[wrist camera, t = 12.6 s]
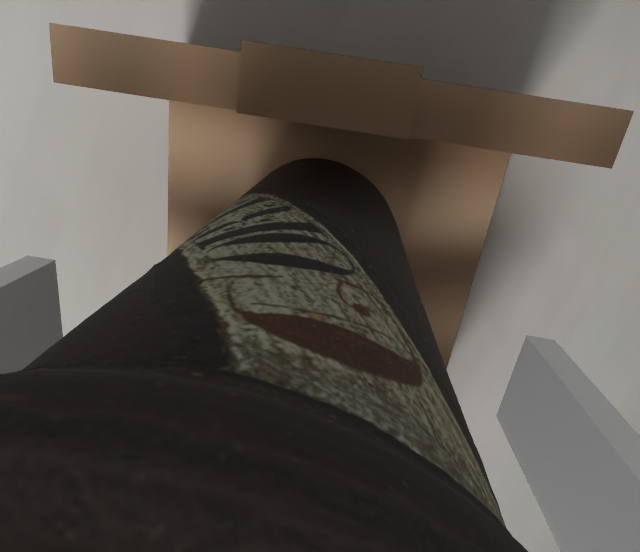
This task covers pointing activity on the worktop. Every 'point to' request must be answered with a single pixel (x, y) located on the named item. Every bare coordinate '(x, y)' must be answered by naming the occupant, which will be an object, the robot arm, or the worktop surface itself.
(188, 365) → the container
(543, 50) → the worktop surface
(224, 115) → the holder
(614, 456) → the robot arm
